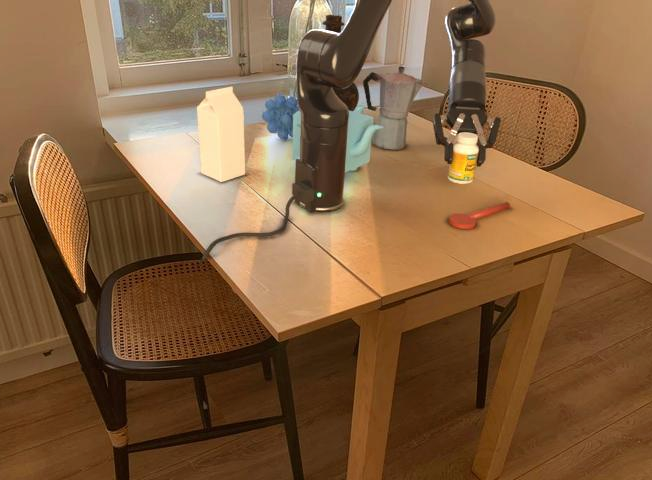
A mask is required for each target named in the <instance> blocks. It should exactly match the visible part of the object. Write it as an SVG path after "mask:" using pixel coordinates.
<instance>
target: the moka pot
mask: <svg viewBox="0 0 652 480" xmlns="http://www.w3.org/2000/svg"><path fill="white" fill-rule="evenodd" d="M405 69H406V68H405V67H404V66H398V72H387V73H376V72H373V71H372V72H370V73H369V74H368V75H367V76H366V77H365V78H364V79H363V82H362V85H363V90H364V95H365V99H366V101H365V102H366V104H367V105H366V107H367V109H368V110H369V111H373V112H377V110H378V107H377V106H373V105H372V100H371V92H370V85H369V82H370V81H374V82H375V83H379V106H380V108H379V115H378V118H377V121H376V125H379V126H382V127H384V128H382V129H379V130H377V131H375V132H374V134H373V136H372V140H371V144H372V145H374V146H377V147H378V148H381V149H383V150H392V151H394V150H395V151H397V150H402V149H404V148H405V147H406V144H407V127H408V126H407V125H408V123H409V122H408V117H409V111H410V110H411V109H412V106H413V103H414V101H415V98H416V96H417V95H418V94H419V93H420V91H421V89H422V87H423V86H424V85H426V83H425V82H424V80H423V79H421V78H418V77H415V76H413V75H411V74H406V73H404V72H405Z"/></svg>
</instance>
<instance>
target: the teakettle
mask: <svg viewBox="0 0 652 480" xmlns="http://www.w3.org/2000/svg"><path fill="white" fill-rule="evenodd" d="M366 107H367V103H360V104H357V106H356V108H355V110H354V111H349V121H348V135H347V149H346V163H345V174H346V173H348V172H350V171H352V172H353V171H357V170H359V169H358V168H360V167H361V166H364V165H367V164H369V163H370V159H371V151H372V150H371V149H372V138H373V135H374V132H375V131H377V130H379V129H382V128H384V127H382V126H379V125H377V124H374V116H371V115H367V114H365V113H362V112H363V111H364V109H365V108H366ZM300 132H301V112H300V111H297V112H296V113H295V114H293V138H292V146H291V147H292V148H291V149H292V150H291V151H292V153H291V155H292V156H291V158H292V160H293V161H296V159H297V158H300Z"/></svg>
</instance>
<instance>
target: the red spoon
mask: <svg viewBox="0 0 652 480" xmlns="http://www.w3.org/2000/svg"><path fill="white" fill-rule="evenodd" d="M510 207H511V203H510V202H509V201H505V202H502V203H499V204H496V205H493V206H489V207H487V208H483V209H481V210H478V211H475V212H472V213H469V214H467V213H453V214H451V215H449V218H448V223H449V224H450V226H452V227H454V228H456V229H461V230H469V229H473V228H475V227H476V224H477V220H478V219H481V218H484V217H487V216H490V215H492V214H495V213H499V212H502V211H506V210H508V209H510Z"/></svg>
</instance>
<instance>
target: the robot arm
mask: <svg viewBox="0 0 652 480" xmlns="http://www.w3.org/2000/svg"><path fill="white" fill-rule="evenodd" d="M468 1H469V3H467V4H463V5H458V6H455V7H451V9H449V10H448V12H447V13H446V15H445V17H444V18H445V19H444V27H445V32H446V35H447V39H448V41H449V45H450V51H451V67H450V69H451V70H450V77H449V84H448V107H447V108H448V109H447V113H446V114H440V113H438V112H437V113H435V114H434V116H433V119H432V126H433V132H434V138H435V144H436V145H438V146H440V145H441V146H443V148H444V162H446V163H447V165H449V166H450V165H451V163H452V161H453V145H454V144H453V142H454V140H455V139H456V136H458V134H459V133H462V132H469V133H474V134H476V135H478V140H477V143H476V145H477V146H478V148H479V153H478V158H477V163H476V167H482V165H483V164H484V163H485V161H486V158H487V157H486V156H487V155H486V154H487V149H492V148H493V147H494V145H495V143H496V142H497V137H498V135H499V129H500V125H501V121H502V119H501V117H499V116H497V117H495V118H493V117H489V116H488V115H487V112H486V99H487V75H486V54H487V53H486V52H487V51H486V46H485V44H484V43H483V42H482V41H481V40H478V39H477V38H479V37H480V38H481V37H484V36H487V35H490V34H491V33H492V32H493V31H494V29H495V26H496V22H497V16H496V11H495V9H494V7H493V4H492V2H491V1H490V0H468ZM392 2H393V0H355V3H354V7H353V10H352V11H351V14H350V17H349V19H348V20H347V23H346V25H344V28H343V30H341V33H336V32H331V31H326V30H325V29H318V28H316V29H311V30H309V31H307V32H306V33H305V34H304V35H303V37H302V38H301V40H300V42H299V45H298V48H297V53H296V61H295V63H296V64H295V66H296V67H295V69H296V71H295V72H296V73H295V74H296V75H295V76H296V100H297V103H298V104H297V106H298V107H299V109H300V112H301V132H300V158H297V159H296V161H295V160H294V161H295V163H294V164H295V165H294V166H295V167H294V182H292V183H291V192H292V193H291V195H292V196H291V197H290V198H289V199H288V201H287V202H286V205H285V213H284V218H283V223H282V226H281V227H280V228H278V229H276V230H273V231H269V232H237V233H232V234H228V235H225V236H221V237H219V238H216V239H215V240H213V241H212V242H211V243H210V244H209V246H207V248H206V249H205V251H204V253H203V255H202V257H201V260H206V259H207V258H208V256H209V255H210V253H211V252H212V250H213V249H214V248H215V246H217V245H218V244H220V243H222V242H225V241H228V240H232V239H235V238H241V237H242V238H243V237H245V238H246V237H253V238H254V237H256V238H263V237H264V238H265V237H266V238H267V237H272V236H275V235H277V234H280V233H282V232H284V231H286V228H287V224H288V221H289V218H290V208H291V205H292V204H293V202H294V203H295V204H296V205H298V206H299V207H301V208H302V209H305V210H306V211H307V212H309V213H311V214H312V213H331V212H335V211H338V210H339V209H341V208H342V207H343V206H344V190H345V176H346V175H345V174H346V173H345V163H346V149H347V135H348V121H349V109H348V107H347V106H346V105H345V104H344V103H343V102H342V101H341V100H340V99H339V98H338V97H337V96H336V94H335V92H334V90H333V88H336V89H345V88H347V87H349V86H350V85H351V84H352V83H353V82H354V83H355V81H356V79H358V76H359V75H360V72H361V71H362V69H363V67H364V64H365V62H366V60H367V58H368V56H369V53H370V50H371V48H372V46H373V43H374V41H375V38H376V36H377V34H378V32H379V29H380V26H381V25H382V22H383V20H384V18H385V16H386V14H387V12H388V10H389V8H390V6H391V4H392ZM445 122H447V125H448V126H449V128H450V132H449V135H448V137H446V136H445V134H444V129H443V126H444V124H445ZM485 125H487V129H488V130H489V134H488V137H487V139H486V137H485V132H484V130H483V127H484V126H485ZM202 404H203V406H202V407H203V409H204V410H207V409H208V405H207V404H206V402H205V401H204V400H202Z"/></svg>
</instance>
